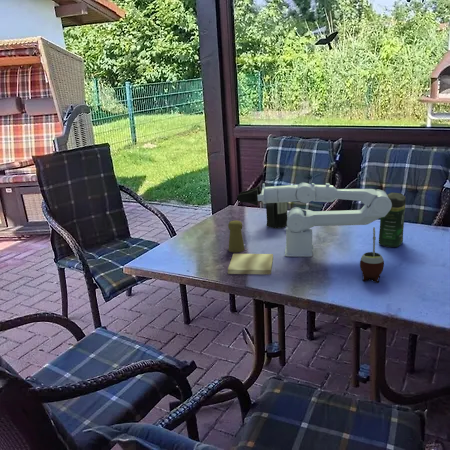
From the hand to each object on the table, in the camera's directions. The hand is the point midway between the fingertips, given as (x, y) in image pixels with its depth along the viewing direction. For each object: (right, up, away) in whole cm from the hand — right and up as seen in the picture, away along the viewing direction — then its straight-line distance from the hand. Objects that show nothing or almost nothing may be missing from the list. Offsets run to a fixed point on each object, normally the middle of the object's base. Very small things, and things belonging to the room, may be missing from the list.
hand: (239, 196), depth 172 cm
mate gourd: (+40, -27, -20) cm, 52 cm away
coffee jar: (+56, -17, +7) cm, 59 cm away
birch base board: (+4, -24, -6) cm, 25 cm away
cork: (-1, -19, +10) cm, 21 cm away
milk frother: (+20, -11, +31) cm, 39 cm away
